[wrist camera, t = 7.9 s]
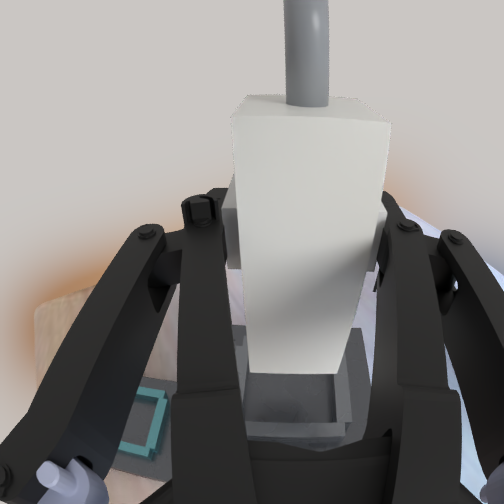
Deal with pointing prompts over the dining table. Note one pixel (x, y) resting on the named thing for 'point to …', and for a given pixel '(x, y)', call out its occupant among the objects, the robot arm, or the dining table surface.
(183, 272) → the robot arm
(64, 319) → the dining table surface
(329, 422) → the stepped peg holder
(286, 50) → the plug
